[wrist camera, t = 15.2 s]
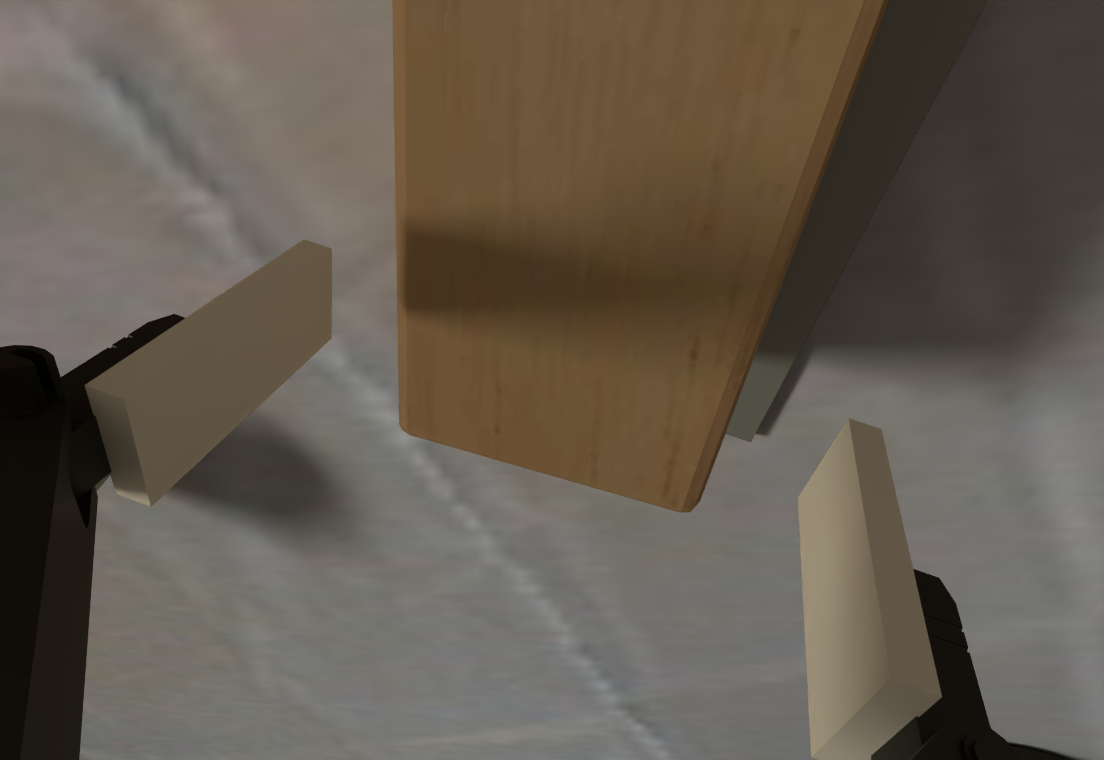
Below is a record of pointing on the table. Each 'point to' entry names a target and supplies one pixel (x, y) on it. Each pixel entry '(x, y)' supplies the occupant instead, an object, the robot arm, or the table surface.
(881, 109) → the mat
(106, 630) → the table surface
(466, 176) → the wooden block
